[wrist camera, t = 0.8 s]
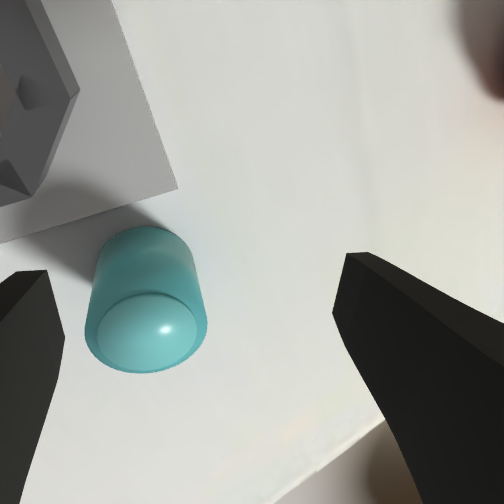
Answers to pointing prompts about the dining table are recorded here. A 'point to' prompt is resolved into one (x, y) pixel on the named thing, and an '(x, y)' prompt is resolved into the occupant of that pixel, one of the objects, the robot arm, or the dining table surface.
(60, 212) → the octagonal ring on plate
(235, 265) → the dining table surface
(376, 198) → the dining table surface
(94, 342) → the cap
